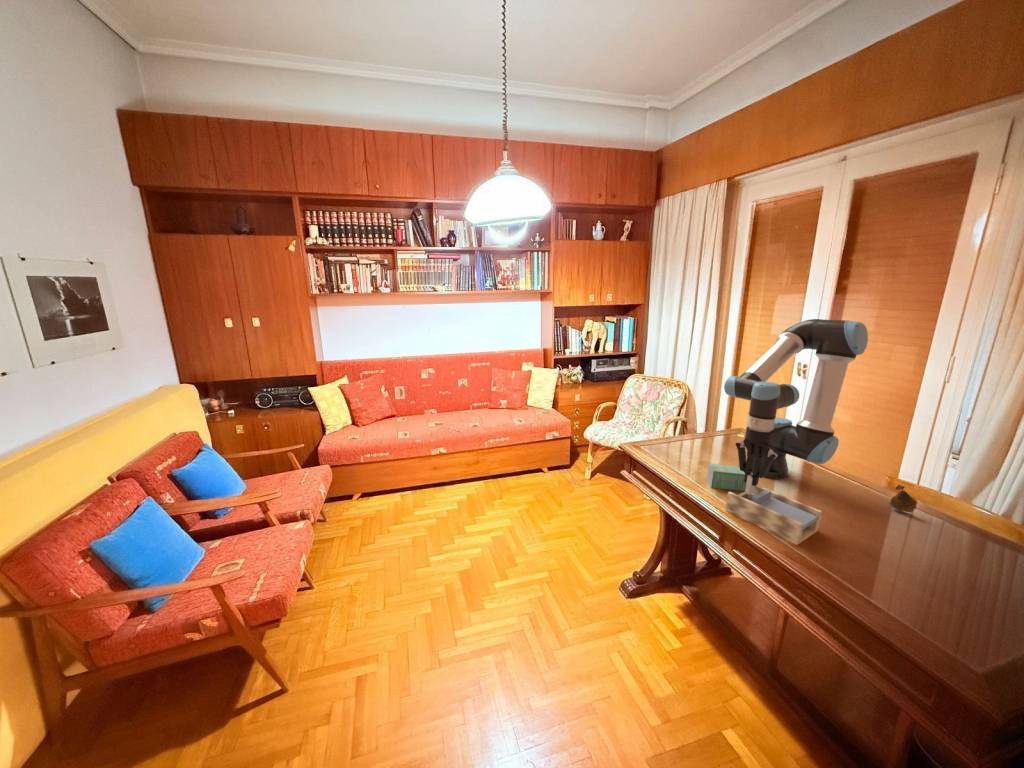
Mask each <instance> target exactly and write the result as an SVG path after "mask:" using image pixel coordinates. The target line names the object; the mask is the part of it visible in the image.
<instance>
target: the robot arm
mask: <svg viewBox="0 0 1024 768" xmlns="http://www.w3.org/2000/svg"><path fill="white" fill-rule="evenodd" d="M868 341H869V335H868V329H867V326H866V325H865V324H864V323H863V322H861V321H854V320H849V319H848V320H847V319H843V320H842V319H840V320H839V319H838V320H836V319H822V318H821V319H820V318H819V319H818V318H813V319H807V320H803V321H800V322H797V323H795V324H793V325H792V326H789V327H787V328H786V329H785V330H783V331H782V332H781V333H780V334H779V335H778V336H777V337H776V342H774V344H772V345H771V346H770V347H769V348H768V349H767V350H766V351H765V352H764V353H763V354H762V355H761V356H760V357H758V359H757V360H756V361H755V362H753V363H752V364H751V366H749V367H748V368H747V369H746V370H745V371H744V372H743V373H742V374H741V375H740V376H737V375H731V376H729V377H727V379H726V380H725V382H724V385H723V386H724V387H723V388H724V389H723V390H724V393H725V394H726V395H728V396H729V397H732V398H733V397H734V398H736V399H741V400H746V401H750V403H749V404H750V405H749V409H748V416H747V421H746V429H745V435H744V436H745V437H744V439H743V441H738V442H736V443H735V446H736V449H737V454H738V455H737V456H738V464H739V465H738V467H740V470H741V471H743V472H744V473H745V479H744V482H745V483H746V489H745V491H744V492H745V493H747V494H752V493H754V487H755V486H757V485H758V486H759V481H760V480H759V478H760V479H763V478H769V479H785V478H787V477H788V474H789V466H788V462H787V458H786V457H787V455H789V456H792V457H795V458H798V459H801V460H804V461H807V462H808V463H809V462H810V463H814V464H817V465H823V464H826V463H827V462H829V461H830V460H831V458H832V457H833V456H834V455H835V453H836V451H837V449H838V447H839V442H840V441H839V438H838V437H836V436H835V429H834V428H833V427H832V422H833V420H834V416H835V412H836V408H837V405H838V402H839V398H840V394H841V391H842V387H843V384H844V380H845V377H846V373H847V370H848V366H849V364H850V363H851V362H853V361H855V360H856V357H857V356H860V355H862V354H863V353H864V352H866V351H865V350H866V349H867V346H868ZM802 350H815V356H816V357H817V358H818V363H817V366H816V370H815V374H814V376H813V377H814V378H813V381H812V386H811V388H810V392H809V395H808V399H807V403H806V407H805V410H804V414H803V416H802V417H803V418H802V420H799V421H798V422H796V425H793V422H792V420H790V419H787V418H783V417H776V416H777V413H778V412H777V411H778V410H779V409H783V408H788V407H791V406H793V405H795V404H796V403H797V402H798V400H799V399H800V391H799V389H798V388H797V387H796V386H794V385H792V384H789V383H782V384H778V383H776V382H770V381H768V380H769V379H770V378H772V376H774V374H775V373H777V372H778V371H779V369H780V368H782V367H783V366H784V365H785V363H787V362H788V361H789V359H791V358H792V357H793V355H795V354H799V353H801V352H802Z"/></svg>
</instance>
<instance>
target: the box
mask: <svg viewBox="0 0 1024 768" xmlns="http://www.w3.org/2000/svg"><path fill="white" fill-rule="evenodd" d="M706 474H707V475H706V482H707V484H708V485H710V486H709V487H710V488H711V489H720V490H729V491H738V492H745V489H746V483H745V482H744V479H745V473H744V472H743V471H741V470H740V466H735V465H734V466H733V465H726V464H725V465H724V464H723V465H722V464H715V463H708V468H707V473H706Z"/></svg>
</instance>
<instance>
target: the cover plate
mask: <svg viewBox="0 0 1024 768" xmlns="http://www.w3.org/2000/svg"><path fill="white" fill-rule="evenodd" d="M769 490H770V489H768V490H764V491H762V492H760V493H758V494H756V495H754V496H753V497H752V501H753V502H755V503H757V504H759V505H762V506H764V507H766V508H769V509H771V510H773V511H775V512H778V513H780V514H782V515H784V516H787V517H789V518H791V519H794V520H796V521H798V522H800V523H803V525H802V530H803V529H805V528H806V527H808V526H809V525H811V524H812V523H814V522H815V521H817V517H818V516H816V515H813V514H811V513H809V512H806V511H804V510H801V509H799V508H796V507H794V506H792V505H789V504H787V503H784V502H782V501H780V500H777V499H775V498H772V497H771V491H772V490H770V491H769ZM802 530H801V531H802Z"/></svg>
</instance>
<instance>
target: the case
mask: <svg viewBox="0 0 1024 768" xmlns="http://www.w3.org/2000/svg"><path fill="white" fill-rule="evenodd" d="M764 490H769V491H771V497H772V498H775V499H777V500H780V501H782V502H784V503H787V504H789V505H792V506H794V507H796V508H799V509H801V510H804V511H806V512H809V513H811V514H813V515H816V516H818V517H817V521H815V522H814V523H812V524H811V525H809V526H808V527H806V528H805V529H803V530H802V525H803V523H800V522H798V521H796V520H794V519H791V518H789V517H787V516H784V515H782V514H780V513H778V512H775V511H773V510H771V509H769V508H766V507H764V506H762V505H759V504H757V503H755V502H753V501H752V497H753V496H754V495H756V494H758V493H760V492H762V491H764ZM725 511H726V512H727V513H729V514H731V515H734V516H736V517H737V518H740V519H742V520H744V521H746V522H748V523H750V524H752V525H754V526H757V527H758V528H761V529H762V530H764V531H767V532H768V533H771V534H773V535H775V536H777V537H778V538H781V539H783V540H784V541H785V540H786V541H787V542H789V543H791V544H793V545H796V546H798V545H799V544H801V543H802V542H804V541H805V540H806V539H808V538H809V537H811V536H812V535H814V534H815V533H817V532H818V531H819V527H820V522H821V518H822V517H821V516H822V512H823V510H820V509H818V508H815V507H813V506H810V505H808V504H805V503H802V502H800V501H798V500H795V499H792V498H790V497H787V496H786V495H782V494H780V493H778V492H776V491H774V490H773V491H772V490H770V489H768V488H765V487H762V486H760V485H759V484H758V485H757V486H755V487H754V493H752V494H747V493H745V491H742V492H741V493H739V494H736V493H734V492H731V491H728V492H727V496H726V505H725ZM801 530H802V531H801Z"/></svg>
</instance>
